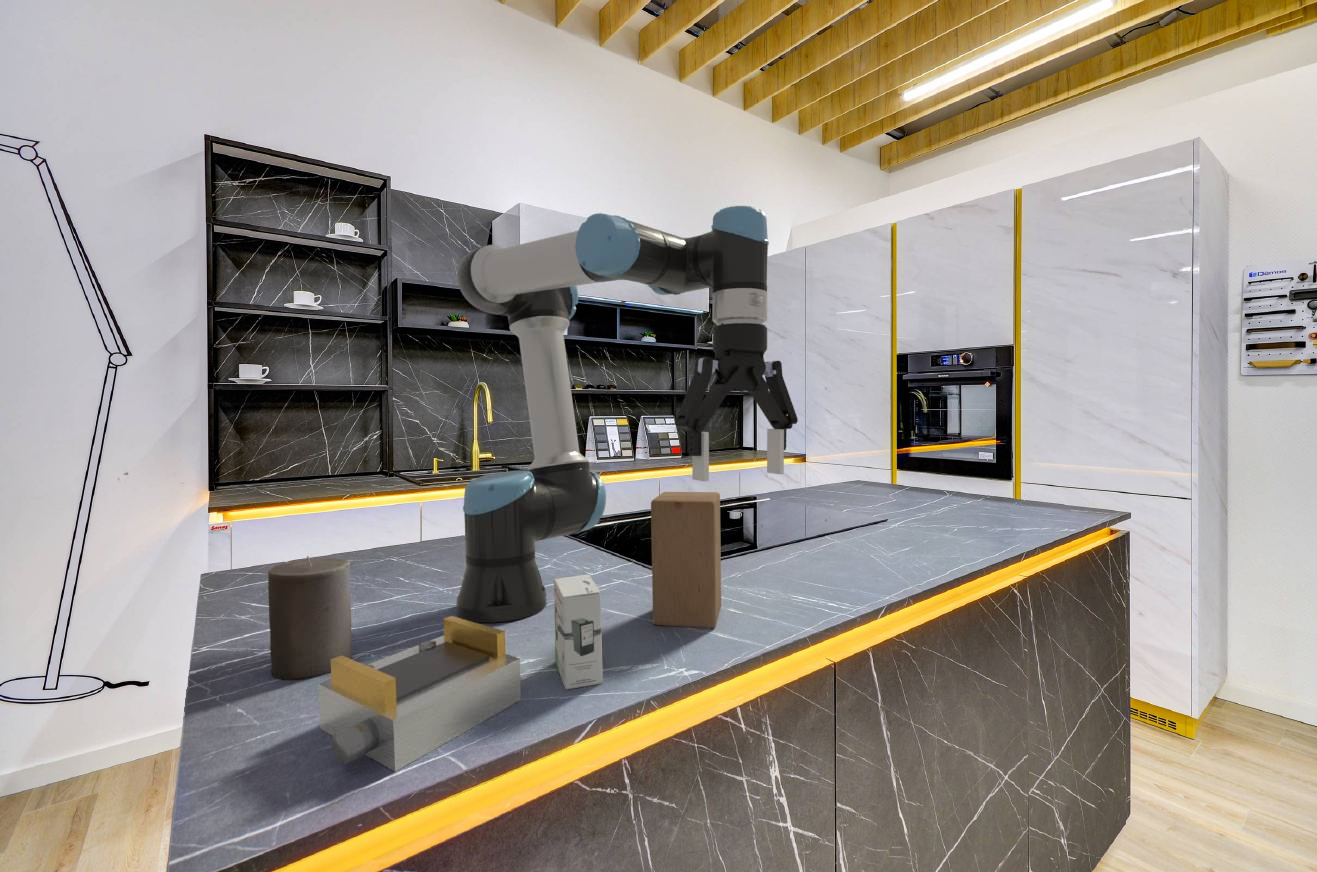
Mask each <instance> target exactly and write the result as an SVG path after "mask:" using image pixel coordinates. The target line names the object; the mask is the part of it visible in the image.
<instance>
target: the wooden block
mask: <svg viewBox="0 0 1317 872" xmlns="http://www.w3.org/2000/svg"><path fill="white" fill-rule="evenodd" d="M720 494H721V493H720V492H717V491H715V492H714V491H712V492H711V491H710V492H709V491H708V492H707V491H704V492H703V491H699V492H698V491H694V492H693V491H663V492H661V493H660V494H659V495H658V496H656V497H655V498H654V499H652V500H651V501H650V520H651V521H650V523H651V524H650V525H651V526H650V527H651V576H652V578H651V579H652V582H651V583H652V586H651V587H652V592H651V593H652V623H653V625H656V626H665V627H666V626H669V627H681V628H682V627H683V628H684V627H686V628H697V629H698V628H700V629H702V628H703V629H715V628H716V626H717V622H718V619H719V615H720V612H721V608H722V568H721V567H722V566H721V565H722V560H721V559H722V557H721V555H722V553H721V550H722V549H721V542H722V541H721V495H720Z"/></svg>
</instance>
